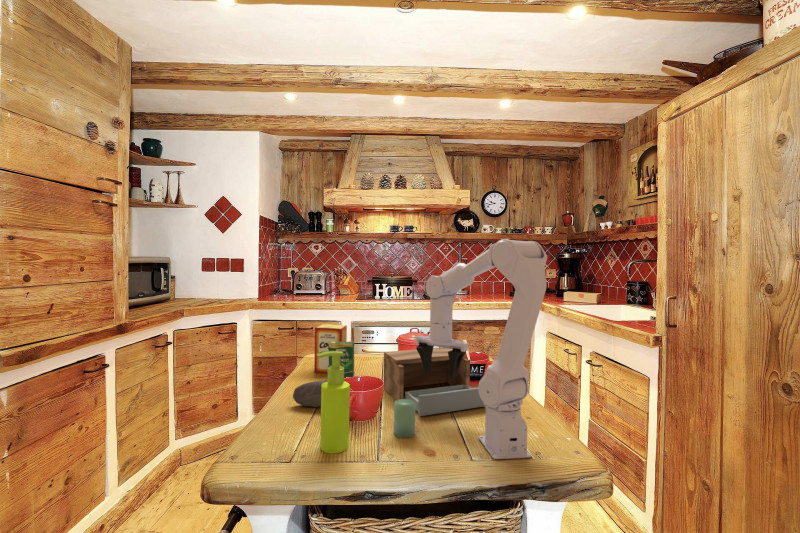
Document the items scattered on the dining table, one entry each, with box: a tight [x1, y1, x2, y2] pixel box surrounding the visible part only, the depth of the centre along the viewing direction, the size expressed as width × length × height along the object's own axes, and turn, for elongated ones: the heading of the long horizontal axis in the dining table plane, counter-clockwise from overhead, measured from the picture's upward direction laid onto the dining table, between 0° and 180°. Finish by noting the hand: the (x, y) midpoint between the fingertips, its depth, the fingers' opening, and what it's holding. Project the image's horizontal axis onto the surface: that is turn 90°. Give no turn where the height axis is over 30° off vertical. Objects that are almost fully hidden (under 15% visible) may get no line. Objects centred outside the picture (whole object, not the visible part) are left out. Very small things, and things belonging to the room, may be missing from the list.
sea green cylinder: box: [393, 398, 416, 439], centre depth 88 cm, size 5×5×7 cm
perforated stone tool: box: [292, 379, 328, 409], centre depth 103 cm, size 15×5×7 cm, turn 88°
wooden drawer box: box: [382, 347, 471, 401], centre depth 116 cm, size 13×23×11 cm, turn 113°
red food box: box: [313, 323, 348, 374], centre depth 136 cm, size 10×6×16 cm
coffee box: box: [329, 341, 355, 378], centre depth 122 cm, size 8×3×13 cm, turn 86°
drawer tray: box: [404, 384, 486, 417], centre depth 105 cm, size 11×21×5 cm, turn 113°
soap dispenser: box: [316, 351, 351, 454], centre depth 81 cm, size 6×7×20 cm
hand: (440, 375), depth 99 cm, fingers open, 7 cm apart
